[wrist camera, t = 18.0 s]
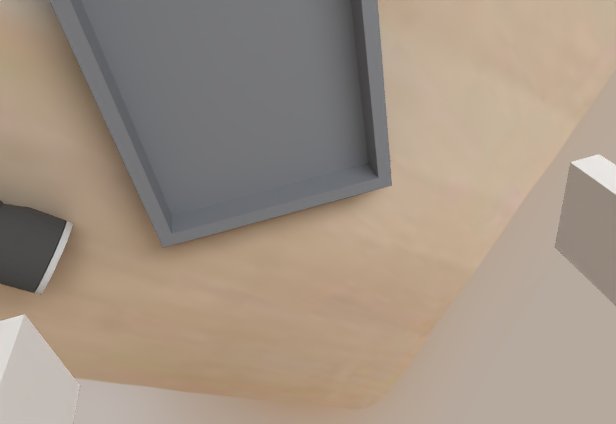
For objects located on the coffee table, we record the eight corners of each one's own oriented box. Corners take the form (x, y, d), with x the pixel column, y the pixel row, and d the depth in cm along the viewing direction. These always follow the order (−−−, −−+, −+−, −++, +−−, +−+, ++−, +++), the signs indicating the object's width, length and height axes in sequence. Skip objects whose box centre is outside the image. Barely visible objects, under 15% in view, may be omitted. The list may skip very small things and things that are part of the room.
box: (-23, -199, 23) (-47, -209, 20) (337, -267, 24) (355, -284, 22) (163, 224, 38) (162, 247, 36) (378, 167, 40) (391, 185, 37)
